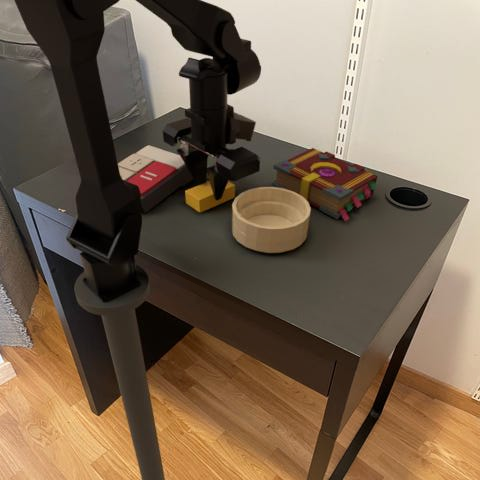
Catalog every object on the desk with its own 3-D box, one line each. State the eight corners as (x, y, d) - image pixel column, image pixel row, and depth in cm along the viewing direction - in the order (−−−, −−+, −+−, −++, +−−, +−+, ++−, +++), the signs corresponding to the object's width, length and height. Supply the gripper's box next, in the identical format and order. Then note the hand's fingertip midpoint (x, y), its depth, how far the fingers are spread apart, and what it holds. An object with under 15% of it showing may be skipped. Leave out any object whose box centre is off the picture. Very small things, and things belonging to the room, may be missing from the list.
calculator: (91, 176, 83) (147, 141, 92) (97, 198, 86) (150, 161, 95) (141, 195, 79) (194, 156, 88) (144, 217, 82) (196, 177, 91)
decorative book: (310, 168, 95) (313, 143, 92) (379, 200, 87) (385, 174, 84) (271, 187, 89) (273, 162, 86) (341, 223, 81) (346, 197, 78)
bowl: (268, 266, 73) (270, 238, 69) (216, 230, 79) (216, 203, 75) (322, 236, 78) (326, 209, 75) (270, 205, 85) (272, 179, 81)
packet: (199, 212, 83) (199, 200, 81) (185, 203, 85) (185, 190, 83) (234, 197, 86) (235, 185, 85) (220, 188, 89) (220, 176, 87)
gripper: (289, 109, 73) (280, 200, 84) (211, 75, 82) (212, 161, 93) (233, 128, 67) (232, 223, 78) (157, 90, 77) (165, 179, 88)
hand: (210, 194), depth 85 cm, fingers closed on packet, 4 cm apart
